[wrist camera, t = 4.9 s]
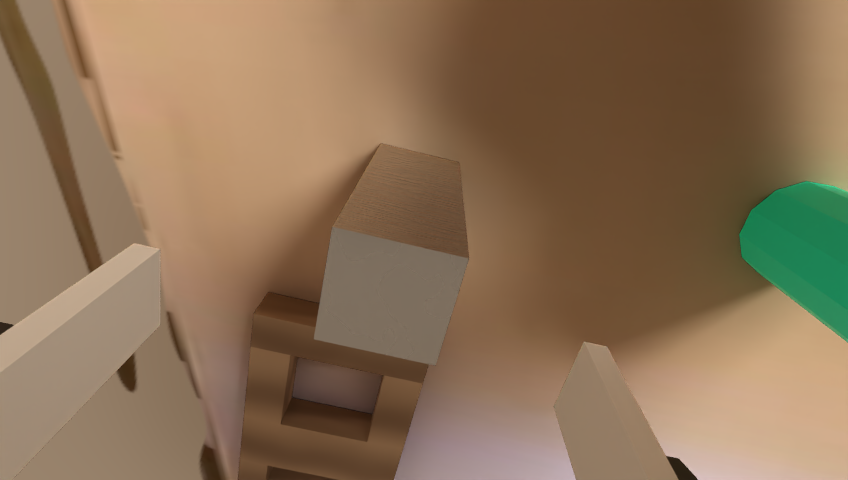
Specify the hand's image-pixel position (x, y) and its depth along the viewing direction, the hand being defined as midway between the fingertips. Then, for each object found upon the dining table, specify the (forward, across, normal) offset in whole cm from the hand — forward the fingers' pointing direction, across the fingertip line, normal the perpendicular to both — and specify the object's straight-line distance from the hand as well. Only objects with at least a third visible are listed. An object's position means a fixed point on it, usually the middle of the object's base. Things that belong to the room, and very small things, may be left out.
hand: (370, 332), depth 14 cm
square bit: (+14, 0, 0) cm, 14 cm away
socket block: (+14, -2, -18) cm, 22 cm away
